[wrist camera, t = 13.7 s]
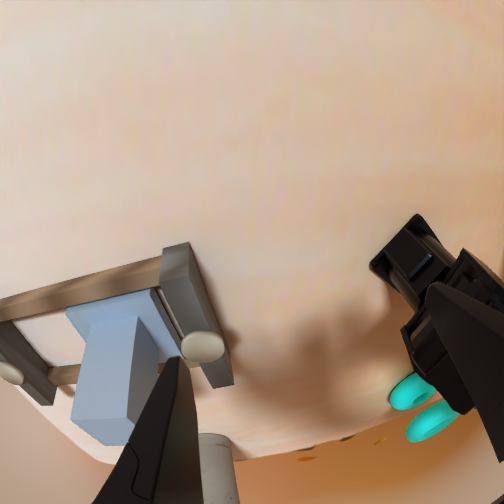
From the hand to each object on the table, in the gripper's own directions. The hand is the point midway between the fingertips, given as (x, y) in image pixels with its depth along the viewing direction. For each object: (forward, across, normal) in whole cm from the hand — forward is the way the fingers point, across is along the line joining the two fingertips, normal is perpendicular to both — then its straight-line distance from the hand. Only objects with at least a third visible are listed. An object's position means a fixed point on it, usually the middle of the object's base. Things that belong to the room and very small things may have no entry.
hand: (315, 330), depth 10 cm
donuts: (+13, -21, +39) cm, 46 cm away
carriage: (+13, +13, +10) cm, 21 cm away
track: (+13, +17, +10) cm, 23 cm away
